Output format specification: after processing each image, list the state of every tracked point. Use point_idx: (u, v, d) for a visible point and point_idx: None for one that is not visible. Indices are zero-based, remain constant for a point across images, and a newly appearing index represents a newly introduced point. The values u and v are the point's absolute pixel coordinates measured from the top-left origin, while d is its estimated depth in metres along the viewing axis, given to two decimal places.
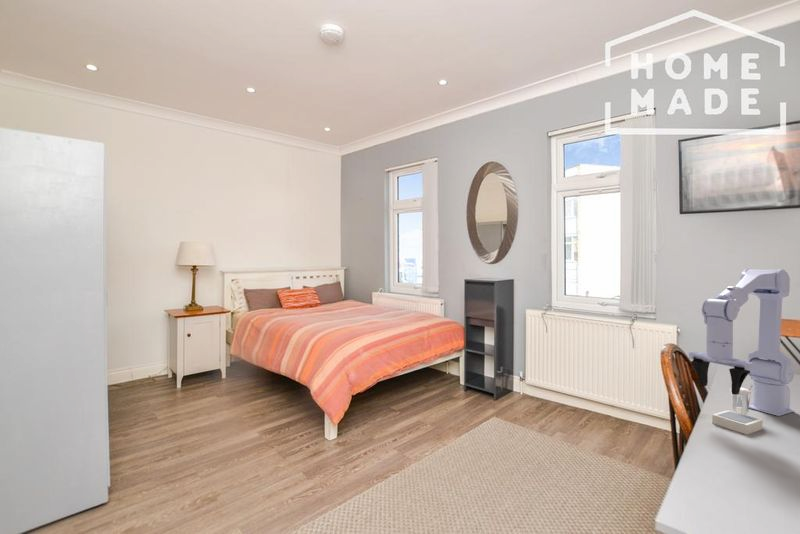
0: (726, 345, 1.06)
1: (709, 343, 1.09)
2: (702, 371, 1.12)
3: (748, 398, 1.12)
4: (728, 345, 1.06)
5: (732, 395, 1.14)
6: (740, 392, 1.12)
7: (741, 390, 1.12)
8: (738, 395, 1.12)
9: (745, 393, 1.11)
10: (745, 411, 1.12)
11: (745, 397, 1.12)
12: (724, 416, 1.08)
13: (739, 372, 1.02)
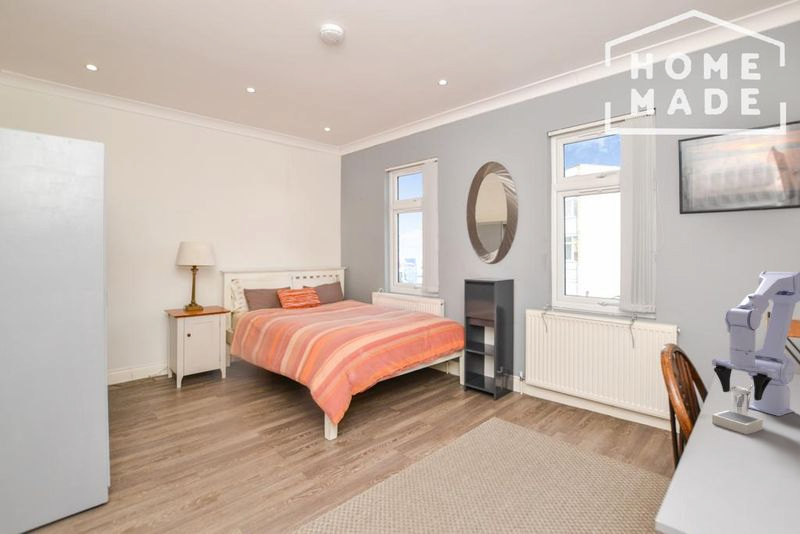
0: (749, 353, 1.11)
1: (732, 351, 1.13)
2: (725, 377, 1.17)
3: (748, 398, 1.12)
4: (751, 353, 1.11)
5: (732, 395, 1.14)
6: (740, 392, 1.12)
7: (741, 390, 1.12)
8: (738, 395, 1.12)
9: (745, 393, 1.11)
10: (745, 411, 1.12)
11: (745, 397, 1.12)
12: (724, 416, 1.08)
13: (762, 379, 1.07)
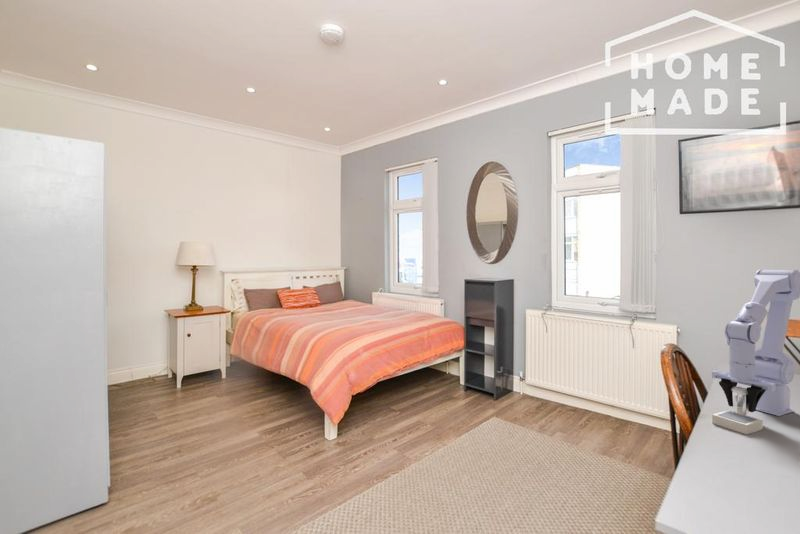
0: (749, 366, 1.11)
1: (732, 364, 1.14)
2: (730, 391, 1.15)
3: None
4: (751, 366, 1.11)
5: (733, 395, 1.14)
6: (741, 392, 1.12)
7: (742, 390, 1.12)
8: (739, 395, 1.12)
9: (746, 393, 1.11)
10: (745, 411, 1.12)
11: (746, 397, 1.11)
12: (724, 416, 1.08)
13: (756, 391, 1.09)
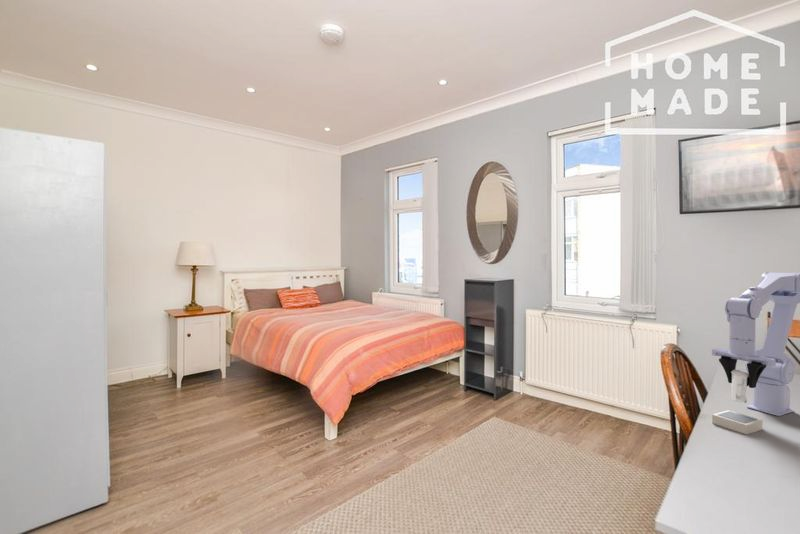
0: (749, 342, 1.11)
1: (732, 340, 1.13)
2: (730, 368, 1.15)
3: None
4: (751, 342, 1.11)
5: (733, 377, 1.14)
6: (741, 374, 1.12)
7: (742, 372, 1.12)
8: (739, 377, 1.12)
9: (746, 375, 1.11)
10: (744, 394, 1.12)
11: (746, 380, 1.11)
12: (724, 416, 1.08)
13: (756, 366, 1.08)
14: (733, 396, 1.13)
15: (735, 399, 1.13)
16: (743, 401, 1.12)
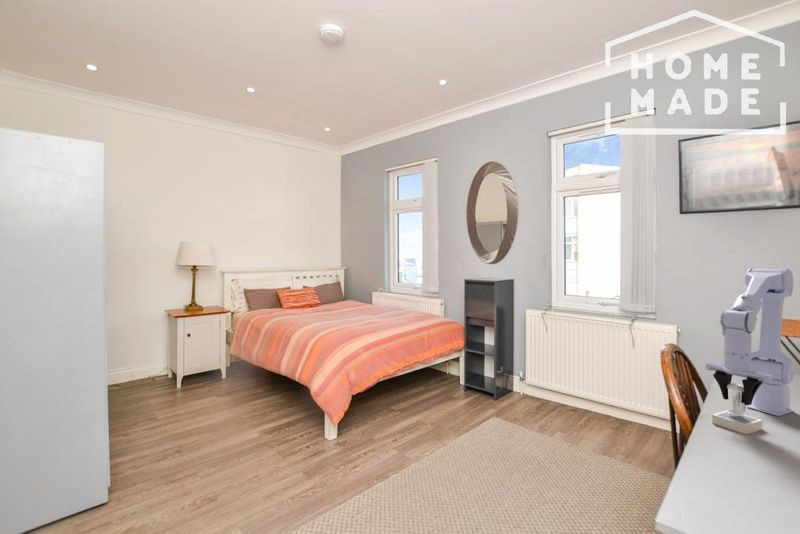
0: (745, 357, 1.05)
1: (727, 355, 1.08)
2: (725, 384, 1.10)
3: None
4: (747, 357, 1.05)
5: (729, 392, 1.08)
6: (737, 389, 1.06)
7: (738, 387, 1.06)
8: (735, 392, 1.07)
9: (742, 390, 1.06)
10: (742, 409, 1.06)
11: (742, 395, 1.06)
12: (724, 416, 1.08)
13: (752, 383, 1.03)
14: (730, 412, 1.08)
15: (732, 415, 1.08)
16: (740, 417, 1.07)
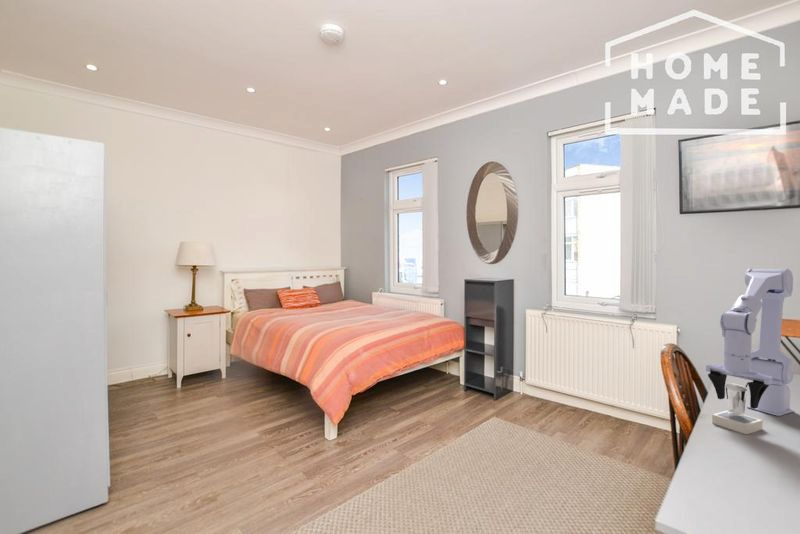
0: (745, 358, 1.05)
1: (727, 356, 1.08)
2: (719, 384, 1.11)
3: (745, 395, 1.06)
4: (747, 358, 1.05)
5: (728, 392, 1.08)
6: (736, 389, 1.06)
7: (737, 387, 1.07)
8: (734, 392, 1.07)
9: (741, 390, 1.06)
10: (741, 409, 1.07)
11: (742, 394, 1.06)
12: (724, 416, 1.08)
13: (758, 386, 1.02)
14: (730, 412, 1.08)
15: (732, 415, 1.08)
16: (740, 417, 1.07)
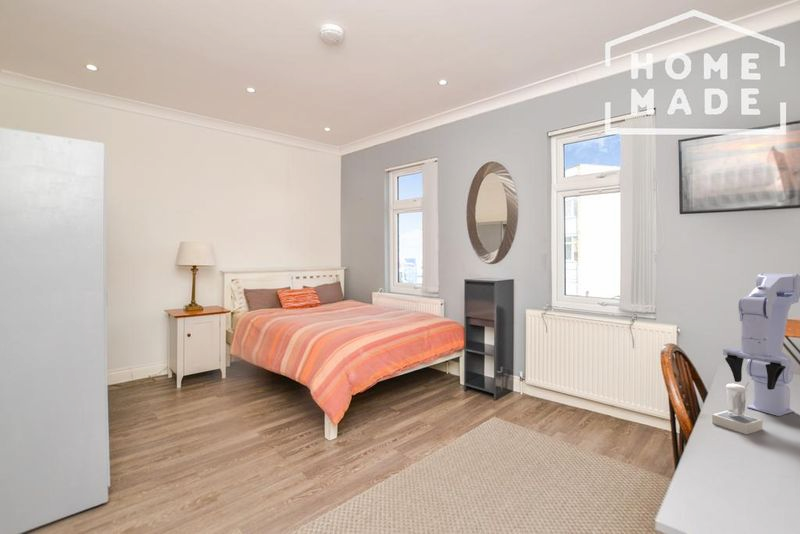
0: (762, 341, 1.09)
1: (744, 340, 1.11)
2: (736, 367, 1.15)
3: (745, 395, 1.06)
4: (764, 341, 1.09)
5: (728, 392, 1.08)
6: (736, 389, 1.06)
7: (737, 387, 1.07)
8: (734, 392, 1.07)
9: (741, 390, 1.06)
10: (741, 409, 1.07)
11: (742, 394, 1.06)
12: (724, 416, 1.08)
13: (776, 368, 1.05)
14: (730, 412, 1.08)
15: (732, 415, 1.08)
16: (740, 417, 1.07)
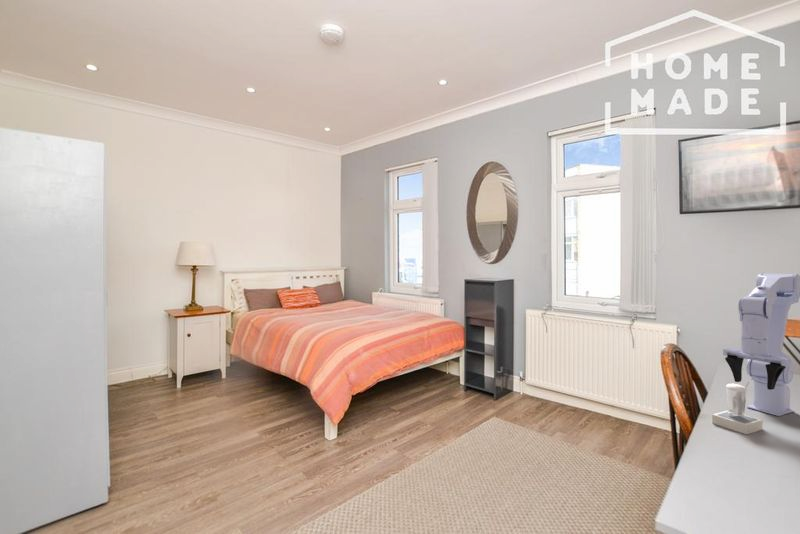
0: (762, 341, 1.09)
1: (744, 340, 1.11)
2: (736, 367, 1.15)
3: (745, 395, 1.06)
4: (764, 341, 1.09)
5: (728, 392, 1.08)
6: (736, 389, 1.06)
7: (737, 387, 1.07)
8: (734, 392, 1.07)
9: (741, 390, 1.06)
10: (741, 409, 1.06)
11: (742, 394, 1.06)
12: (724, 416, 1.08)
13: (776, 368, 1.05)
14: (730, 412, 1.08)
15: (732, 415, 1.08)
16: (740, 417, 1.07)
